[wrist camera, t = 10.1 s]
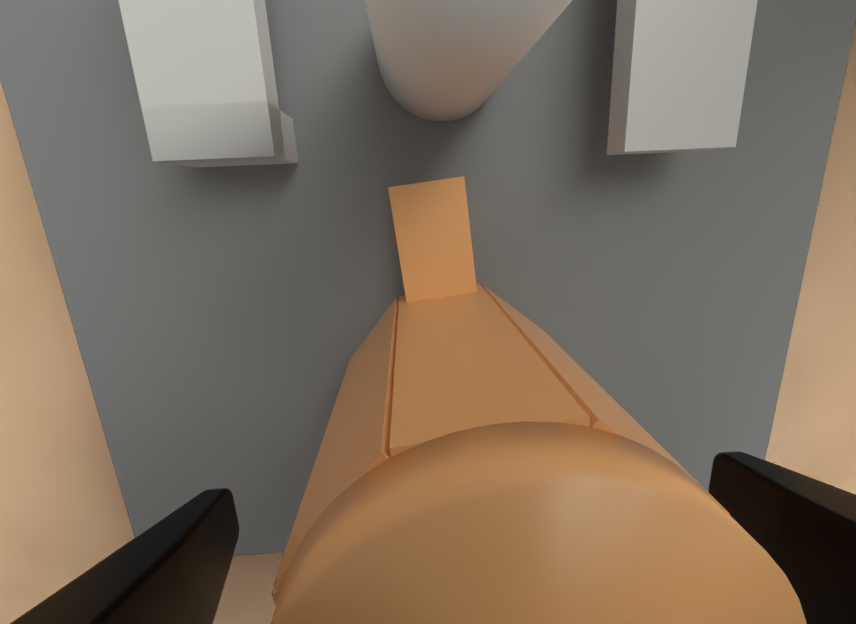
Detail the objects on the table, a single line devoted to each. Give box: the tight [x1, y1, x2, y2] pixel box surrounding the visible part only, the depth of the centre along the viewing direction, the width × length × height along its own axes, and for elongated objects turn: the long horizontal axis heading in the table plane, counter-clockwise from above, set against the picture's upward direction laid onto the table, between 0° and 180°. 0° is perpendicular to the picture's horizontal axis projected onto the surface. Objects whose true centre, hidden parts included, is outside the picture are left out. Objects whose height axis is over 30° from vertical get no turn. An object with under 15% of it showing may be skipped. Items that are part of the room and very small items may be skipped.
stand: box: [0, 0, 856, 556], centre depth 9 cm, size 20×20×8 cm
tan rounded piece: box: [271, 176, 807, 624], centre depth 8 cm, size 11×6×8 cm, turn 8°
